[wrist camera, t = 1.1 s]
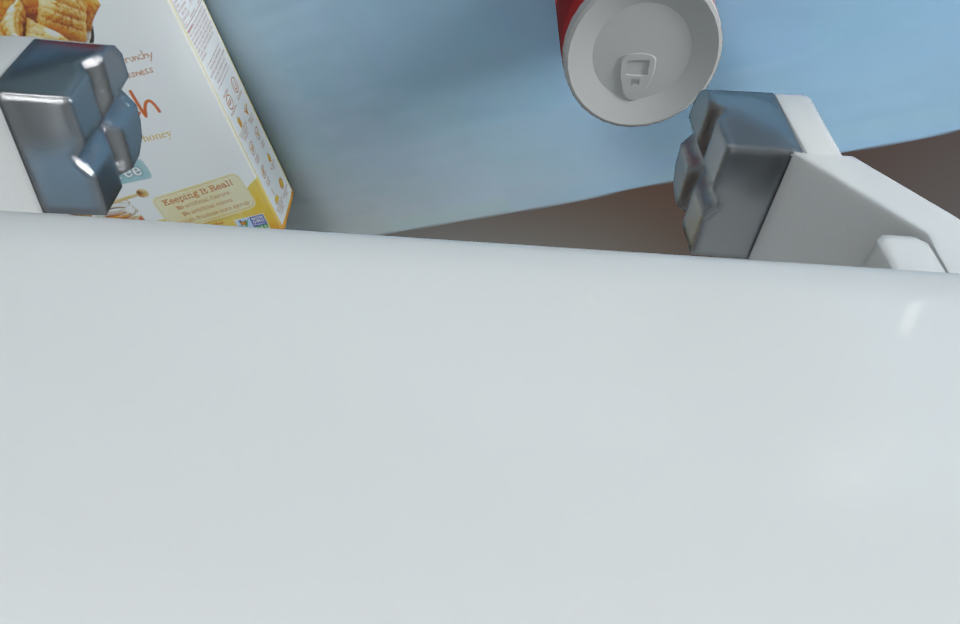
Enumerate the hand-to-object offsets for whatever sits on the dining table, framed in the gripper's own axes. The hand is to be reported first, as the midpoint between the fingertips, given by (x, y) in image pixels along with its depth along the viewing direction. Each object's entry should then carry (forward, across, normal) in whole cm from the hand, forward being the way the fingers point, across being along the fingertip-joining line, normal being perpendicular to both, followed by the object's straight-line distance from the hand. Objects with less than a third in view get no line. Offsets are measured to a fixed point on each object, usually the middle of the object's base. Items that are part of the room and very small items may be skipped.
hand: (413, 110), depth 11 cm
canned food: (+36, -9, +11) cm, 39 cm away
